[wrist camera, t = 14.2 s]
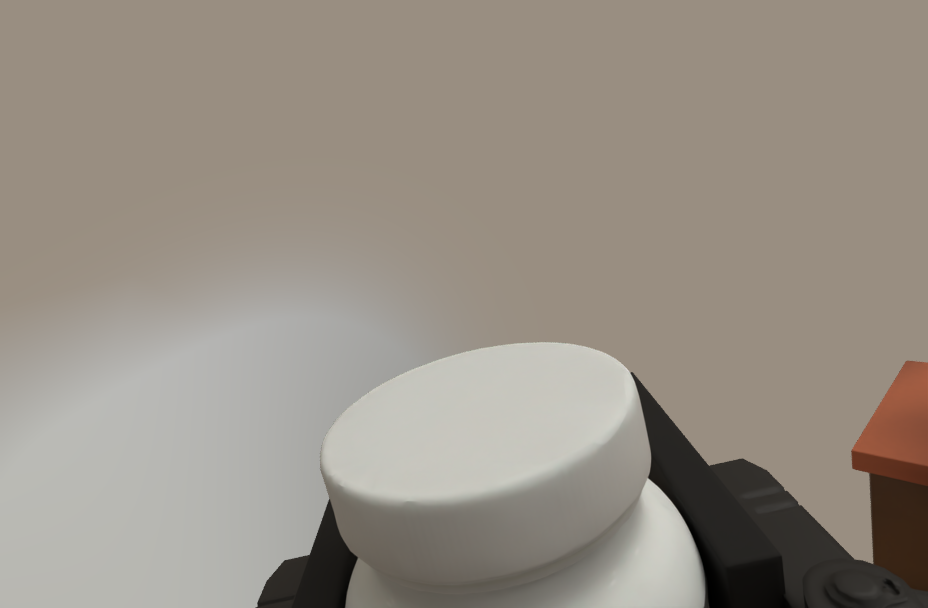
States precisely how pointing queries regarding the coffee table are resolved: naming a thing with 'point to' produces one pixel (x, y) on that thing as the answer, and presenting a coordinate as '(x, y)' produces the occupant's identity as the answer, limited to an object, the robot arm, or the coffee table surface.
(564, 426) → the pill bottle
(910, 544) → the stand
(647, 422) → the robot arm
